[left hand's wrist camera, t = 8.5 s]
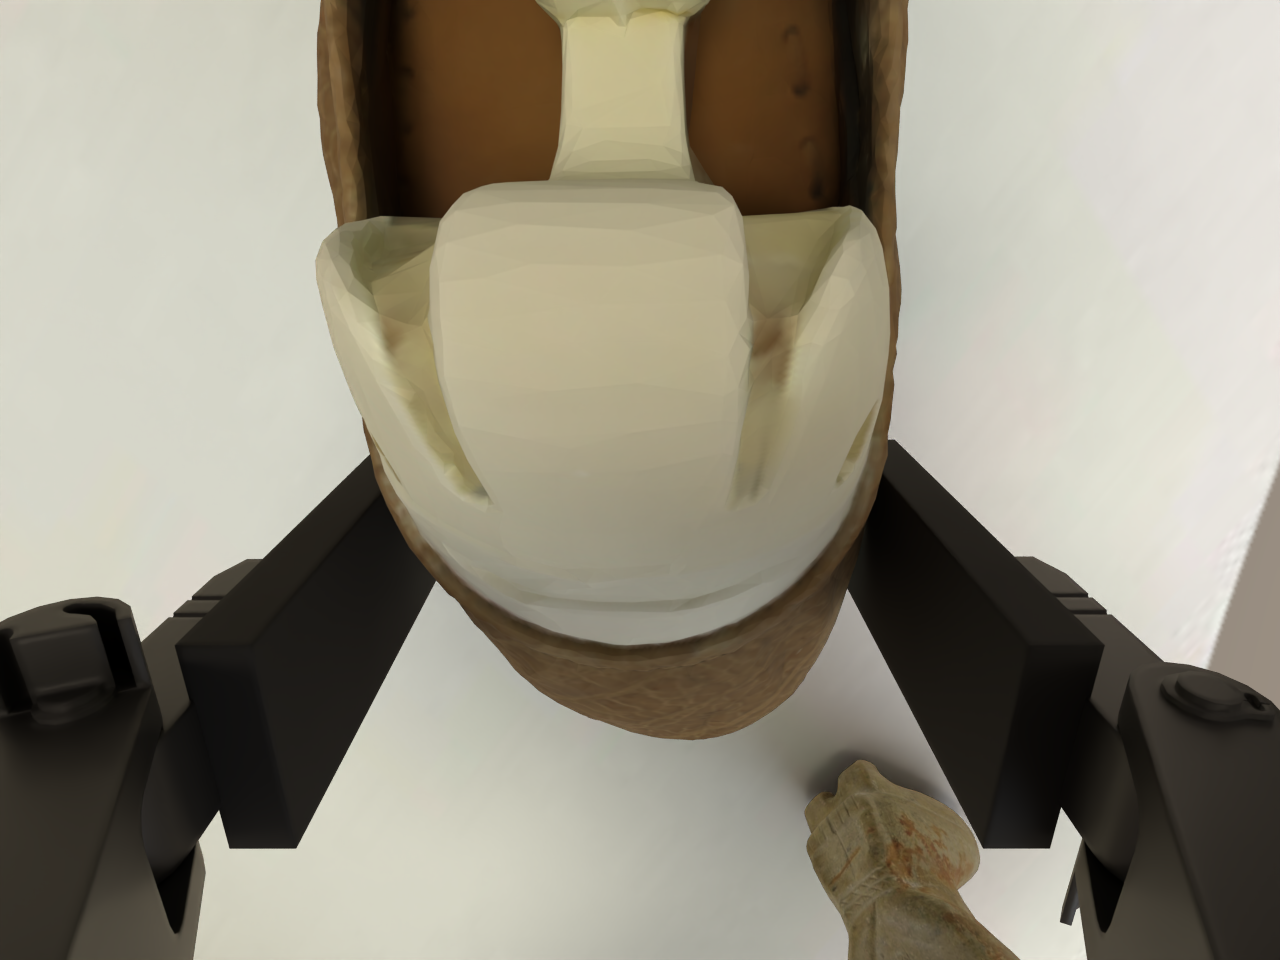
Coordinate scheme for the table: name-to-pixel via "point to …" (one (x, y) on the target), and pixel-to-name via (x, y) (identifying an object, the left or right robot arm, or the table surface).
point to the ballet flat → (622, 324)
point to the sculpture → (897, 871)
